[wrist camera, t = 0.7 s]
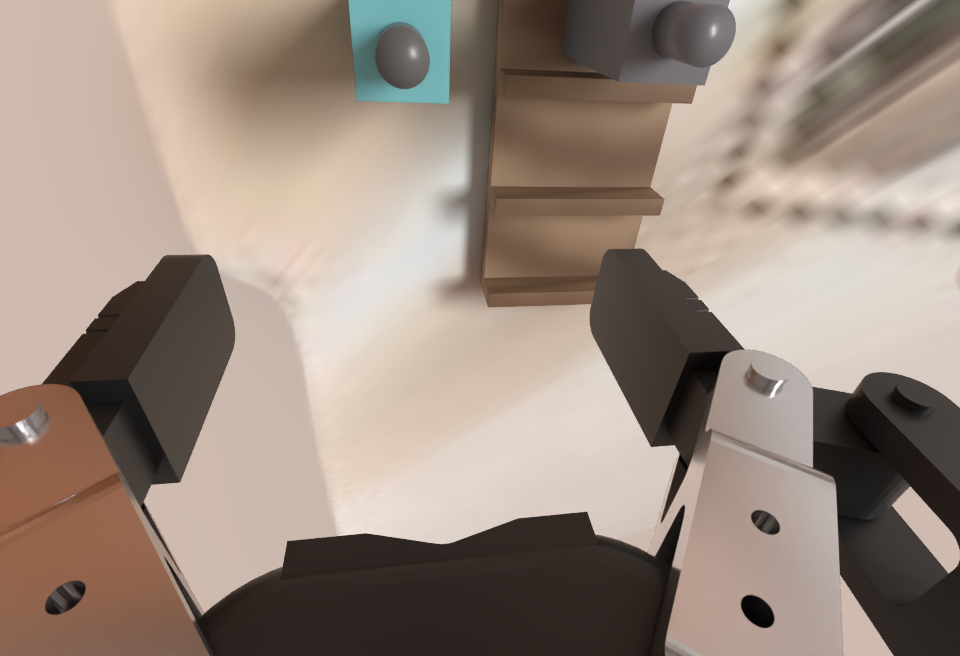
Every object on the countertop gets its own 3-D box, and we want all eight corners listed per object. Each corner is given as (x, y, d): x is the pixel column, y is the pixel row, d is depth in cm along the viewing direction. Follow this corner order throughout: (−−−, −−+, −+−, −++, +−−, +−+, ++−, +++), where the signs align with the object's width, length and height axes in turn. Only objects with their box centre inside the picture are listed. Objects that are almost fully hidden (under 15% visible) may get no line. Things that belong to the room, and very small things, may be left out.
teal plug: (360, -17, 23) (341, -9, 15) (435, -12, 24) (458, -2, 16) (365, 67, 26) (352, 115, 17) (435, 70, 26) (455, 118, 18)
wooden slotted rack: (505, -86, 23) (519, -94, 20) (705, -69, 24) (742, -73, 22) (481, 281, 34) (488, 307, 31) (617, 278, 36) (635, 302, 33)
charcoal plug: (573, -33, 23) (673, -35, 15) (644, -28, 24) (780, -27, 15) (561, 53, 25) (644, 94, 17) (627, 56, 26) (739, 97, 18)
